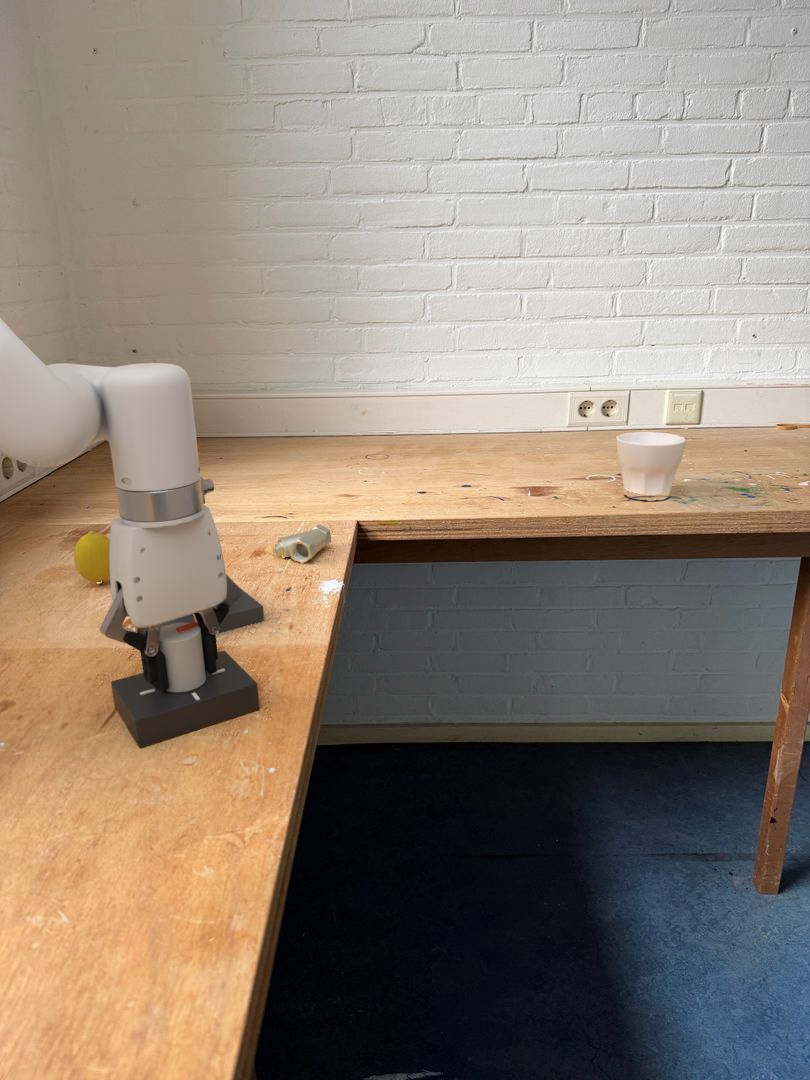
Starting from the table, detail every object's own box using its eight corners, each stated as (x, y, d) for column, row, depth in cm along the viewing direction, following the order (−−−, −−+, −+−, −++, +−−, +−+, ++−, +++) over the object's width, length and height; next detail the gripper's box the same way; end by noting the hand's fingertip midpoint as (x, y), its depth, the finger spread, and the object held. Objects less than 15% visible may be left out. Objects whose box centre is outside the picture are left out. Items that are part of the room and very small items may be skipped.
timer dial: (174, 697, 77) (167, 642, 75) (152, 682, 80) (145, 629, 78) (214, 681, 80) (208, 628, 78) (191, 667, 83) (185, 615, 81)
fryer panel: (139, 748, 74) (135, 718, 73) (114, 707, 81) (110, 679, 80) (260, 709, 80) (257, 681, 79) (227, 674, 87) (224, 648, 86)
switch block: (170, 647, 94) (166, 615, 93) (145, 618, 102) (141, 589, 101) (264, 622, 100) (261, 592, 99) (234, 597, 108) (231, 569, 107)
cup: (690, 503, 146) (696, 444, 142) (622, 505, 146) (626, 445, 142) (668, 486, 157) (673, 431, 154) (605, 487, 157) (608, 432, 154)
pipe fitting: (271, 564, 121) (312, 564, 119) (267, 539, 120) (308, 539, 118) (293, 547, 128) (332, 547, 126) (290, 524, 127) (329, 524, 125)
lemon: (123, 586, 113) (116, 532, 110) (82, 594, 110) (73, 539, 108) (115, 574, 117) (108, 522, 115) (75, 582, 115) (67, 529, 112)
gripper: (221, 477, 82) (237, 639, 87) (53, 511, 71) (84, 693, 77) (261, 490, 76) (275, 662, 82) (85, 530, 66) (116, 723, 71)
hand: (182, 675), depth 79 cm, fingers closed on timer dial, 4 cm apart
